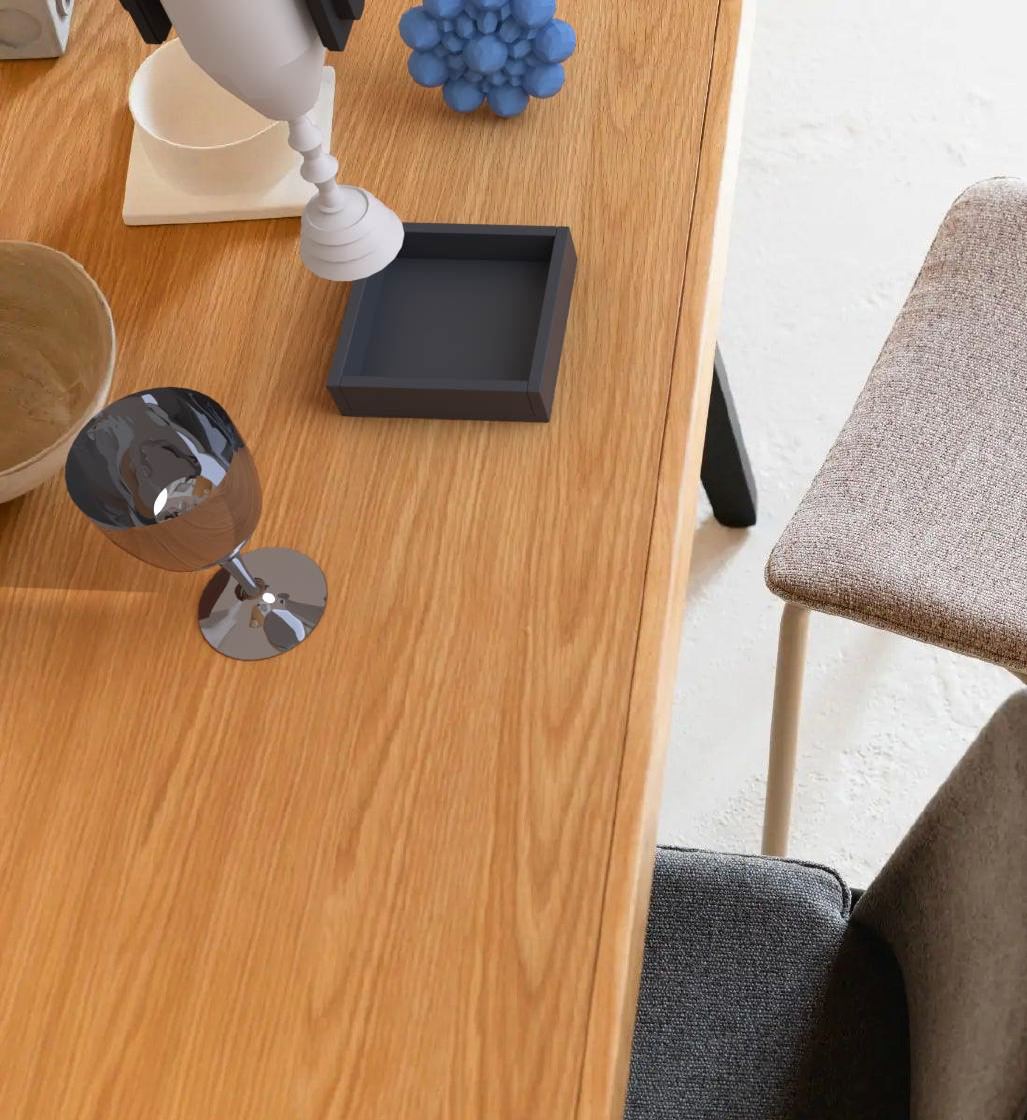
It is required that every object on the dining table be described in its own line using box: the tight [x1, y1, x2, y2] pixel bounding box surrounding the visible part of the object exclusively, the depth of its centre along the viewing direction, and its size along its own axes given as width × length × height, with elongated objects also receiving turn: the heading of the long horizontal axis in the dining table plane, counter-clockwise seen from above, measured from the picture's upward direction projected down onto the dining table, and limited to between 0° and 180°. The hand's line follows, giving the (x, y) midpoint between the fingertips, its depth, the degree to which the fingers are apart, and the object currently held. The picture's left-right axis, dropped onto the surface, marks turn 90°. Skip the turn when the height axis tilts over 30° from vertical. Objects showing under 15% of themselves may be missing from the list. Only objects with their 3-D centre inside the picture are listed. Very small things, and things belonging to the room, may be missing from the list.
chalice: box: [160, 0, 404, 282], centre depth 64 cm, size 7×7×18 cm
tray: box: [325, 221, 579, 423], centre depth 91 cm, size 13×13×3 cm
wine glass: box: [64, 386, 328, 662], centre depth 77 cm, size 8×8×15 cm
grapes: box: [397, 0, 577, 119], centre depth 97 cm, size 12×7×12 cm, turn 87°
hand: (253, 21), depth 61 cm, fingers closed on chalice, 6 cm apart
